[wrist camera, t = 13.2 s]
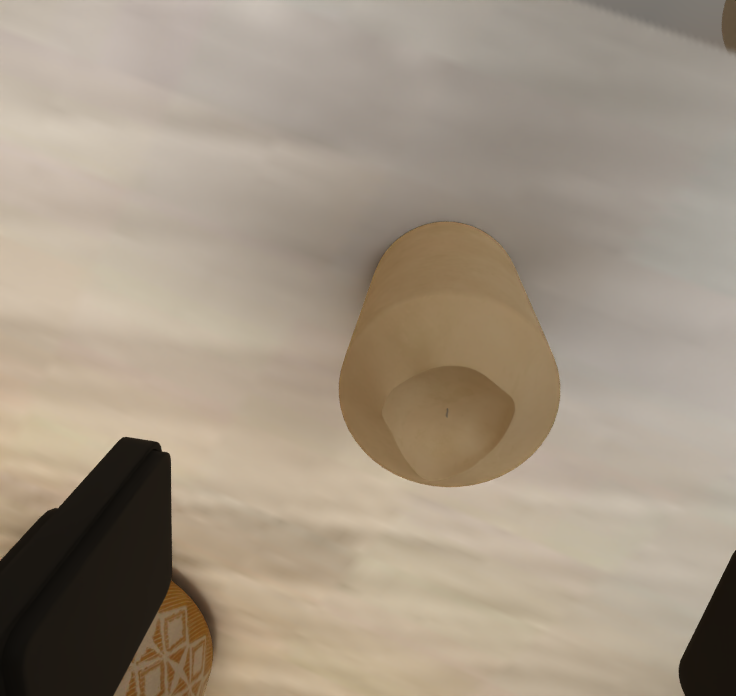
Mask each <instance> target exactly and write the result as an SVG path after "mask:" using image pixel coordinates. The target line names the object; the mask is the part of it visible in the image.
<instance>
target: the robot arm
mask: <svg viewBox="0 0 736 696" xmlns="http://www.w3.org/2000/svg"><path fill="white" fill-rule="evenodd" d="M171 577H172V525H171V458H170V454H169V453H167V452H162V450H161V446H160V444H159V443H158V442H154V441H148V440H142V439H136V438H130V437H123V438H122V439H120V440H119V441H118V442H117V443H116V444H115V446H114V447H113V448H112V449H111V450H110V451H109V452H108V453H107V454H106V456H105V457H104V458H103V459H102V460H101V461H100V462H99V463H98V465H97V466H96V467H95V468H94V469H93V470H92V471H91V472H90V473H89V475H88V476H87V477H86V478H85V479H84V480H83V481H82V482H81V483H80V485H79V486H78V487H77V488H76V489H75V490H74V491H73V492H72V493H71V495H70V496H69V497H68V498H67V499H66V500H65V501H64V502H63V504H62V505H61V506H60V507H59V508H54V509H51V510H49V511H47V512H46V513H45V514H44V515H43V516H41V517H40V518H39V519H38V520H37V522H36V523H35V524H34V525H33V526H32V527H31V528H30V529H29V530H28V531H27V532H26V533H25V535H24V536H23V537H22V538H21V539H20V540H19V541H18V542H17V543H16V544H15V545H14V546H13V548H12V549H11V550H10V551H9V552H8V553H7V554H6V555H5V556H4V557H3V558H2V560H1V561H0V696H114V694H115V692H116V690H117V688H118V686H119V684H120V683H121V681H122V679H123V677H124V675H125V673H126V671H127V669H128V667H129V665H130V664H131V662H132V660H133V658H134V656H135V654H136V652H137V650H138V648H139V646H140V644H141V643H142V641H143V639H144V637H145V635H146V633H147V631H148V629H149V627H150V625H151V624H152V622H153V620H154V618H155V616H156V614H157V612H158V610H159V608H160V606H161V605H162V603H163V601H164V599H165V597H166V595H167V592H168V590H169V587H170V583H171ZM679 679H680V684H681V687H682V689H683V692H684V694H685V696H736V550H735V552H734V553H733V555H732V557H731V559H730V561H729V563H728V565H727V567H726V569H725V571H724V573H723V575H722V577H721V579H720V581H719V583H718V585H717V587H716V590H715V592H714V594H713V596H712V598H711V600H710V602H709V604H708V606H707V608H706V610H705V612H704V614H703V616H702V618H701V620H700V622H699V624H698V626H697V628H696V630H695V632H694V634H693V636H692V638H691V640H690V642H689V644H688V646H687V648H686V650H685V652H684V655H683V657H682V659H681V661H680V664H679Z"/></svg>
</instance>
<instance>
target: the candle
mask: <svg viewBox="0 0 736 696" xmlns="http://www.w3.org/2000/svg"><path fill="white" fill-rule="evenodd" d="M339 399H340V406H341V410H342V414H343V417H344V420H345V422H346V425H347V427H348V429H349V431H350V433H351V434H352V436H353V438H354V439H355V441H356V442H357V443H358V445H359V446H360V447H361V448H362V449H363V451H364V452H365V453H366V454H367V455H368V456H369V457H371V458H372V459H373V460H374V461H375V462H377V463H378V464H379V465H381V466H382V467H383V468H385V469H387V470H388V471H390V472H392V473H394V474H395V475H398V476H400V477H402V478H405V479H407V480H410V481H414V482H417V483H420V484H425V485H431V486H440V487H461V486H469V485H475V484H479V483H483V482H487V481H490V480H492V479H495V478H498V477H500V476H502V475H504V474H506V473H508V472H510V471H512V470H513V469H515V468H516V467H518V466H519V465H521V464H522V463H523V462H524V461H526V460H527V459H528V458H529V457H530V456H531V455H533V453H534V452H535V451H536V450H537V449H538V448H539V447H540V446H541V444H542V443H543V441H544V440H545V438H546V437H547V435H548V434H549V432H550V430H551V428H552V426H553V424H554V421H555V418H556V415H557V412H558V407H559V401H560V380H559V373H558V369H557V365H556V362H555V359H554V356H553V354H552V352H551V349H550V347H549V345H548V342H547V340H546V338H545V335H544V333H543V331H542V329H541V326H540V324H539V322H538V319H537V317H536V315H535V312H534V310H533V308H532V306H531V303H530V301H529V299H528V296H527V294H526V292H525V289H524V287H523V285H522V283H521V280H520V278H519V276H518V273H517V271H516V269H515V267H514V265H513V263H512V261H511V259H510V257H509V256H508V254H507V253H506V251H505V250H504V249H503V247H502V246H501V245H500V244H499V243H498V242H497V241H496V240H494V239H493V238H492V237H491V236H489V235H488V234H486V233H485V232H483V231H481V230H479V229H477V228H475V227H473V226H469V225H466V224H463V223H457V222H435V223H430V224H426V225H423V226H420V227H417V228H415V229H413V230H411V231H409V232H407V233H406V234H404V235H403V236H401V237H400V238H399V239H397V240H396V241H395V242H394V243H393V244H392V245H391V246H390V247H389V248H388V250H387V251H386V252H385V253H384V255H383V257H382V258H381V260H380V262H379V264H378V266H377V268H376V270H375V273H374V275H373V278H372V281H371V284H370V287H369V289H368V292H367V295H366V298H365V301H364V304H363V307H362V309H361V312H360V315H359V318H358V321H357V324H356V327H355V330H354V332H353V335H352V338H351V341H350V344H349V347H348V350H347V353H346V355H345V359H344V362H343V365H342V369H341V373H340V380H339Z"/></svg>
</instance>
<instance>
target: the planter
mask: <svg viewBox="0 0 736 696" xmlns="http://www.w3.org/2000/svg"><path fill="white" fill-rule="evenodd" d="M212 660H213V646H212V640H211V635H210V631H209V629H208V626H207V623H206V621H205V619H204V617H203V615H202V613H201V612H200V610H199V609H198V607H197V606H196V604H195V603H194V602H193V601H192V599H191V598H190V597H189V596H188V595H187V594H186V593H185V592H184V591H183V590H182V589H181V588H180V587H179V586H177V585H176V584H175V583H174V582H173V581H171V583H170V587H169V590H168V592H167V595H166V597H165V599H164V601H163V603H162V605H161V606H160V608H159V610H158V612H157V614H156V616H155V618H154V620H153V622H152V624H151V625H150V627H149V629H148V631H147V633H146V635H145V637H144V639H143V641H142V643H141V644H140V646H139V648H138V650H137V652H136V654H135V656H134V658H133V660H132V662H131V664H130V665H129V667H128V669H127V671H126V673H125V675H124V677H123V679H122V681H121V683H120V684H119V686H118V688H117V690H116V692H115V694H114V696H204V692H205V689H206V685H207V682H208V678H209V675H210V671H211V667H212Z"/></svg>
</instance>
